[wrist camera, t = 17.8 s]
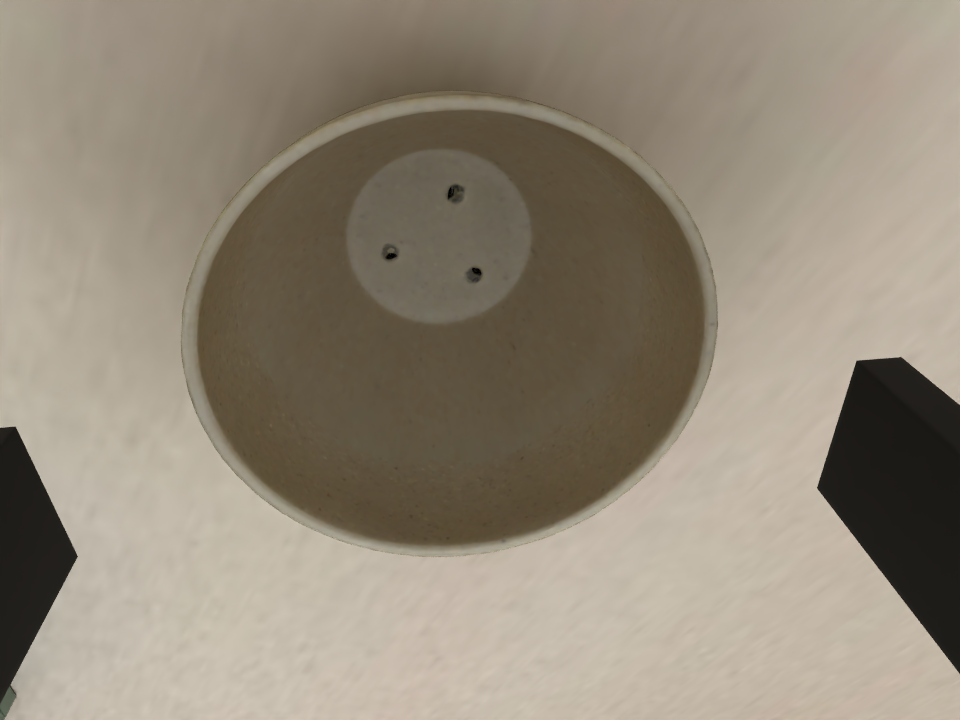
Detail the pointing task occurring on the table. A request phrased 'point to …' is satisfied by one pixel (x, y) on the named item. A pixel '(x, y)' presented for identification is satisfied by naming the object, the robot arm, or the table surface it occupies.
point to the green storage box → (6, 703)
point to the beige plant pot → (449, 324)
